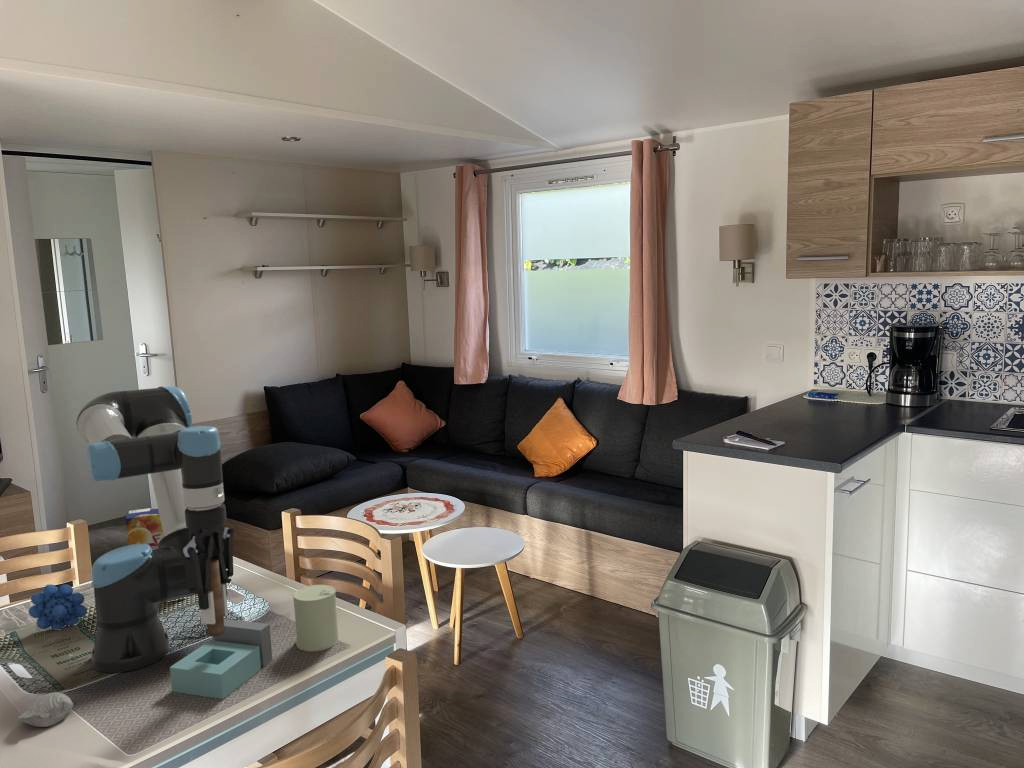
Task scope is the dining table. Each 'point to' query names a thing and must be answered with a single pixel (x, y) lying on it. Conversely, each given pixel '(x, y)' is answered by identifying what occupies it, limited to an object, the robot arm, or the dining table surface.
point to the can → (316, 617)
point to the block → (215, 669)
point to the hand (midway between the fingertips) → (215, 618)
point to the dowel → (216, 600)
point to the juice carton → (144, 527)
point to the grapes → (57, 607)
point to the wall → (249, 637)
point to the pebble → (47, 710)
